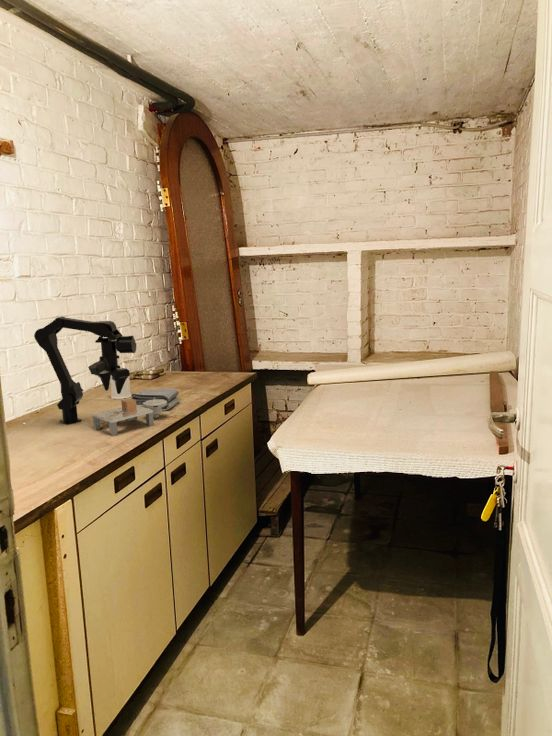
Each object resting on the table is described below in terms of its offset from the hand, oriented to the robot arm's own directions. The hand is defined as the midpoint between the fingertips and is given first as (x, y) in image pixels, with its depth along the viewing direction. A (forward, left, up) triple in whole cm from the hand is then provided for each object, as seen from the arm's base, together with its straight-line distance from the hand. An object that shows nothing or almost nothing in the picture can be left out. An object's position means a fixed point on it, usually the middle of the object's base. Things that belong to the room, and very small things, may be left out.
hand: (112, 392), depth 226 cm
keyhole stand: (+10, -2, -12) cm, 16 cm away
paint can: (-35, +23, -12) cm, 44 cm away
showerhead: (+8, +14, -12) cm, 20 cm away
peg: (+10, +1, -10) cm, 14 cm away
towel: (-6, +23, -12) cm, 27 cm away
